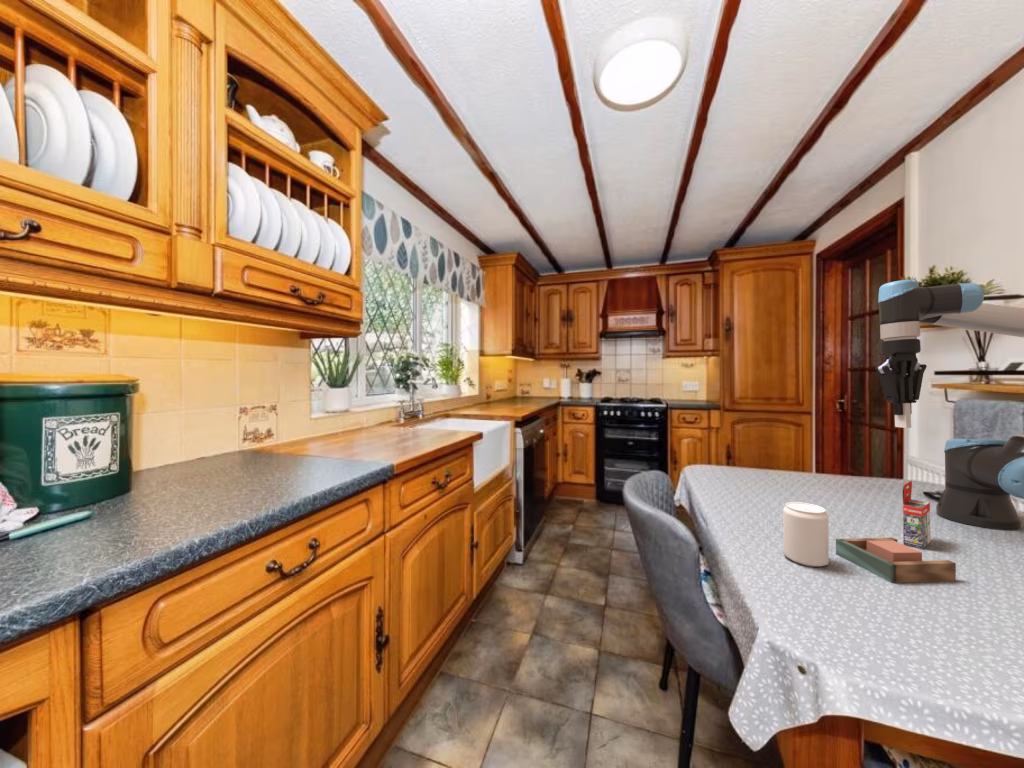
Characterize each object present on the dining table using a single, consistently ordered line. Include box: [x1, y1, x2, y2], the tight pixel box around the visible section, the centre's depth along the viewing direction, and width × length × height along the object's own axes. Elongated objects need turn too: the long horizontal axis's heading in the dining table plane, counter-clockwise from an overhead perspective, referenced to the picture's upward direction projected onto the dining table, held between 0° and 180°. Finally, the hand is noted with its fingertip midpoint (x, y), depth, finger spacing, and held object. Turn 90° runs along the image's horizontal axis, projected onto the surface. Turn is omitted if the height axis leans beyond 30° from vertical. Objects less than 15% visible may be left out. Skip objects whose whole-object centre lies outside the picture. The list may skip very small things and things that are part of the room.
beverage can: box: [782, 501, 830, 568], centre depth 86 cm, size 8×8×12 cm
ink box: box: [901, 480, 932, 550], centre depth 94 cm, size 4×8×15 cm, turn 123°
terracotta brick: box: [867, 540, 923, 562], centre depth 82 cm, size 6×6×4 cm
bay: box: [835, 537, 957, 583], centre depth 82 cm, size 14×12×4 cm
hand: (903, 427), depth 102 cm, fingers closed
